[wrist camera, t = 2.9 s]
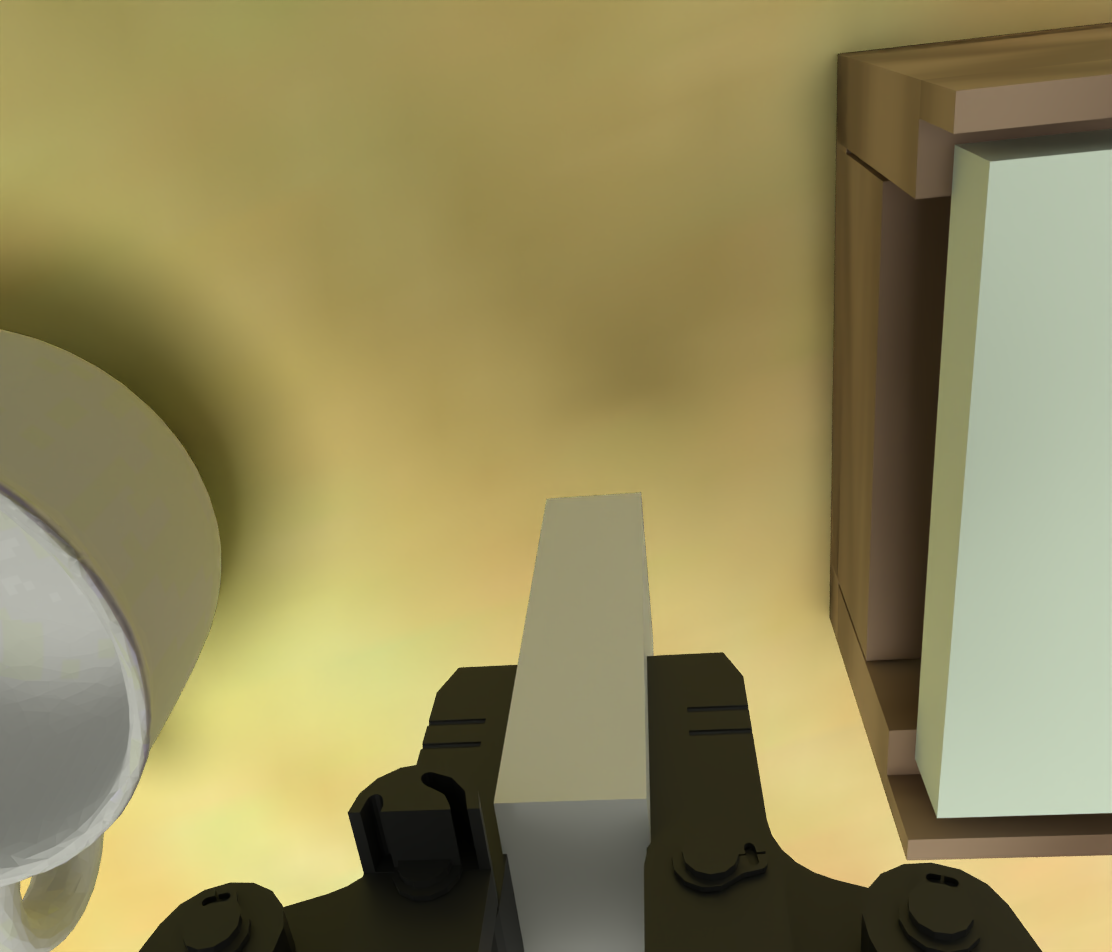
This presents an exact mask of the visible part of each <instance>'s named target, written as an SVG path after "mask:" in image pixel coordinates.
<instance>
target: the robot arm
mask: <svg viewBox="0 0 1112 952" xmlns="http://www.w3.org/2000/svg"><path fill="white" fill-rule="evenodd" d="M348 815H349V819H350V823H351V826H352V830H353V834H354V838H355V841H356V845H357V849H358V853H359V856H360V860H361V864H362V868H363V871H364V875H363V877H362V878H360V879H359V880H357V881H355V882H354V883H352V884H350V885H349V886H347V887H344V888H342V889H339V890H337V891H334V892H332V893H329V894H326V895H323V896H319V897H316V898H313V899H309V900H306V901H303V902H299V903H296V904H293V905H289V906H286V907H283V906H282V904H281V903H280V902H279V900H278V899H277V897H276V896H275V894H274V893H273V891H271V890H269V889H267V888H264V887H262V886H260V885H257V884H255V883H227V884H224V885H221V886H217V887H214V888H210V889H207V890H204V891H202V892H201V893H199V894H197V895H196V896H194V897H192V898H191V899H189V900H187V901H185V902H184V903H182V904H180V905H179V906H178V907H177V908H176V909H175V910H174V911H173V912H172V913H171V914H170V915H169V916H168V917H167V918H166V919H165V920H164V921H163V922H162V923H161V924H160V925H159V926H158V928H157V929H156V930H155V931H154V933H153V934H152V935H151V937H150V938H149V939H148V940H147V942H146V943H145V944H144V946H143V947H142V948H141V949H140V951H139V952H1042V951H1041V949H1040V948H1039V947H1038V945H1037V944H1036V942H1035V941H1034V940H1033V938H1032V937H1031V936H1030V934H1029V933H1028V931H1027V930H1026V929H1025V927H1024V926H1023V925H1022V923H1021V922H1020V920H1019V919H1018V918H1017V916H1016V915H1015V914H1014V912H1013V911H1012V909H1011V908H1010V907H1009V905H1008V904H1007V903H1006V902H1005V901H1004V900H1003V899H1002V898H1001V897H1000V896H999V895H998V894H997V893H996V892H995V891H994V890H993V889H992V888H991V887H990V886H989V885H988V884H986V883H984V882H982V881H981V880H979V879H977V878H975V877H973V876H971V875H969V874H968V873H966V872H964V871H962V870H960V869H956V868H951V867H947V866H943V865H939V864H934V863H918V864H903V865H901V866H898V867H896V868H894V869H891V870H889V871H887V872H884V873H882V874H880V876H879V877H878V878H877V879H876V880H875V881H874V882H873V884H872V885H871V886H870V887H869V888H866V887H862V886H858V885H854V884H850V883H846V882H842V881H838V880H834V879H831V878H828V877H825V876H823V875H820V874H817V873H814V872H812V871H810V870H809V869H807V868H805V867H804V866H802V865H800V864H798V863H797V862H795V861H794V860H793V859H792V858H791V857H790V856H788V855H787V854H786V853H785V852H784V851H783V850H782V849H781V848H780V846H779V845H778V843H777V842H776V841H775V839H774V838H773V836H772V834H771V831H770V828H769V825H768V822H767V819H766V813H765V806H764V800H763V794H762V788H761V782H760V776H759V770H758V764H757V758H756V752H755V746H754V739H753V734H752V727H751V721H750V715H749V710H748V703H747V697H746V691H745V685H744V679H743V676H742V674H741V673H740V672H739V671H738V670H737V668H736V667H735V666H734V665H733V664H732V663H731V661H730V660H729V659H728V658H727V657H726V655H725V654H724V653H723V652H722V653H701V654H681V655H660V656H653V632H652V620H651V608H650V595H649V583H648V571H647V559H646V546H645V534H644V522H643V510H642V497H641V492H640V493H625V494H610V495H595V496H580V497H565V498H550V499H546V505H545V510H544V516H543V522H542V528H541V533H540V539H539V545H538V551H537V556H536V562H535V568H534V574H533V579H532V585H531V591H530V597H529V603H528V608H527V614H526V620H525V626H524V631H523V637H522V643H521V649H520V654H519V660H518V665H505V666H484V667H463V668H458V669H457V670H456V672H455V673H454V674H453V675H452V676H451V677H450V678H449V680H448V681H447V682H446V683H445V684H444V685H443V686H442V688H441V689H440V690H439V691H438V692H437V694H436V698H435V701H434V705H433V708H432V712H431V715H430V719H429V726H427V729H426V733H425V737H424V740H423V749H421V751H420V754H419V758H418V761H417V765H414V766H408V767H403V768H399V769H397V770H395V771H393V772H391V773H388V774H386V775H384V776H382V777H380V778H378V779H376V780H375V781H374V782H373V783H372V784H370V785H369V786H368V787H367V788H366V789H365V790H363V791H362V792H361V793H360V794H359V795H358V797H357V798H356V800H355V802H354V803H353V805H352V807H351V808H350V810H349V812H348Z"/></svg>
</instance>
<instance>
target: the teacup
mask: <svg viewBox="0 0 1112 952" xmlns="http://www.w3.org/2000/svg"><path fill="white" fill-rule="evenodd" d="M220 582H221V543H220V536H219V529H218V523H217V520H216V517H215V513H214V510H213V507H212V503H211V500H210V497H209V494H208V492H207V490H206V487H205V485H204V483H203V481H202V479H201V477H200V474H199V472H198V470H197V468H196V466H195V464H194V463H193V461H192V459H191V458H190V456H189V455H188V453H187V452H186V450H185V448H184V447H183V445H182V444H181V442H180V441H179V440H178V439H177V437H176V436H175V435H174V434H173V432H172V431H171V430H170V429H169V428H168V426H167V425H166V424H165V423H164V421H163V420H162V419H161V418H160V417H159V416H158V415H157V414H156V413H155V412H154V411H153V410H152V409H151V408H150V407H149V406H148V405H147V404H146V403H144V402H143V401H142V400H141V399H140V398H139V397H138V396H136V395H135V394H134V393H133V392H132V391H131V390H130V389H128V388H127V387H126V386H125V385H124V384H122V383H121V382H119V381H118V380H116V379H115V378H113V377H112V376H110V375H109V374H107V373H106V372H105V371H103V370H102V369H100V368H99V367H97V366H95V365H93V364H91V363H89V362H87V361H85V360H84V359H82V358H80V357H78V356H76V355H74V354H72V353H70V352H69V351H66V350H64V349H61V348H59V347H56V346H54V345H52V344H49V343H47V342H44V341H41V340H38V339H35V338H32V337H29V336H25V335H22V334H18V333H14V332H10V331H5V330H1V329H0V952H49V951H51V950H53V949H54V948H55V947H56V946H58V945H59V944H60V943H61V942H62V941H63V940H65V939H66V937H67V936H68V935H69V934H70V932H71V931H72V930H73V929H74V927H75V926H76V924H77V923H78V921H79V919H80V918H81V916H82V915H83V913H84V911H85V909H86V906H87V904H88V902H89V899H90V897H91V894H92V892H93V890H94V886H95V882H96V879H97V875H98V871H99V866H100V861H101V855H102V848H103V837H104V832H105V831H106V830H107V829H108V828H109V827H110V826H111V825H112V824H113V823H114V821H115V820H116V819H117V818H118V817H119V816H120V815H121V814H122V812H123V811H124V809H125V807H126V806H127V804H128V802H129V801H130V799H131V798H132V795H133V793H134V791H135V789H136V787H137V785H138V783H139V781H140V778H141V775H142V772H143V770H144V767H145V764H146V761H147V759H148V755H149V751H150V749H151V747H152V745H153V744H154V742H155V740H156V739H157V737H158V735H159V733H160V731H161V730H162V728H163V726H164V724H165V722H166V721H167V719H168V717H169V715H170V713H171V711H172V710H173V708H174V706H175V704H176V702H177V700H178V698H179V696H180V694H181V692H182V690H183V688H184V686H185V684H186V682H187V680H188V678H189V676H190V674H191V672H192V670H193V668H194V666H195V664H196V662H197V660H198V657H199V655H200V653H201V650H202V648H203V646H204V643H205V641H206V638H207V636H208V634H209V631H210V628H211V625H212V622H213V618H214V615H215V611H216V607H217V602H218V596H219V590H220ZM31 876H32V878H31V882H30V885H29V887H28V889H27V892H26V894H25V896H24V898H23V900H22V897H21V893H20V881H22V880H24V879H26V878H29V877H31Z"/></svg>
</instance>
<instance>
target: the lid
mask: <svg viewBox="0 0 1112 952" xmlns="http://www.w3.org/2000/svg"><path fill="white" fill-rule="evenodd" d="M915 760H916V763H917V766H918V768H919V771H920V774H921V776H922V779H923V782H924V784H925V787H926V790H927V793H928V795H929V798H930V801H931V803H932V806H933V809H934V811H935V814H936V817H937V818H960V817H994V816H1027V815H1061V814H1094V813H1112V129H1104V130H1094V131H1084V132H1074V133H1065V134H1055V135H1045V136H1035V137H1026V138H1016V139H1006V140H997V141H987V142H977V143H967V144H958V145H955V149H954V164H953V180H952V195H951V210H950V226H949V241H948V256H947V272H946V287H945V303H944V318H943V333H942V349H941V364H940V379H939V395H938V410H937V425H936V441H935V456H934V472H933V487H932V502H931V518H930V533H929V548H928V564H927V579H926V594H925V610H924V625H923V641H922V656H921V671H920V687H919V702H918V717H917V733H916V748H915Z"/></svg>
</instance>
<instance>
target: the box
mask: <svg viewBox="0 0 1112 952" xmlns="http://www.w3.org/2000/svg"><path fill="white" fill-rule="evenodd" d="M1104 129H1112V23H1104V24H1095V25H1086V26H1078V27H1069V28H1060V29H1051V30H1043V31H1034V32H1025V33H1016V34H1007V35H999V36H990V37H981V38H972V39H964V40H955V41H946V42H937V43H928V44H920V45H911V46H902V47H893V48H885V49H876V50H867V51H858V52H850V53H841V54H838V68H837V139H836V209H835V280H834V350H833V420H832V491H831V561H830V620H831V623H832V626H833V629H834V633H835V636H836V639H837V642H838V645H839V648H840V652H841V655H842V658H843V661H844V664H845V667H846V670H847V674H848V677H849V680H850V683H851V686H852V689H853V692H854V696H855V699H856V702H857V705H858V708H859V711H860V714H861V718H862V721H863V724H864V727H865V730H866V733H867V736H868V740H869V743H870V746H871V749H872V752H873V755H874V759H875V762H876V765H877V768H878V771H879V774H880V777H881V781H882V784H883V787H884V790H885V793H886V796H887V799H888V803H889V806H890V809H891V812H892V815H893V818H894V821H895V825H896V828H897V831H898V834H899V837H900V840H901V843H902V847H903V850H904V853H905V856H906V859H907V860H937V859H976V858H1015V857H1055V856H1094V855H1112V813H1094V814H1061V815H1027V816H994V817H960V818H937V817H936V814H935V811H934V809H933V806H932V803H931V801H930V798H929V795H928V793H927V790H926V787H925V784H924V782H923V779H922V776H921V774H920V771H919V768H918V766H917V763H916V760H915V748H916V733H917V717H918V702H919V687H920V671H921V656H922V641H923V625H924V610H925V594H926V579H927V564H928V548H929V533H930V518H931V502H932V487H933V472H934V456H935V441H936V425H937V410H938V395H939V379H940V364H941V349H942V333H943V318H944V303H945V287H946V272H947V256H948V241H949V226H950V210H951V195H952V180H953V164H954V149H955V145H958V144H967V143H977V142H987V141H997V140H1006V139H1016V138H1026V137H1035V136H1045V135H1055V134H1065V133H1074V132H1084V131H1094V130H1104Z"/></svg>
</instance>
